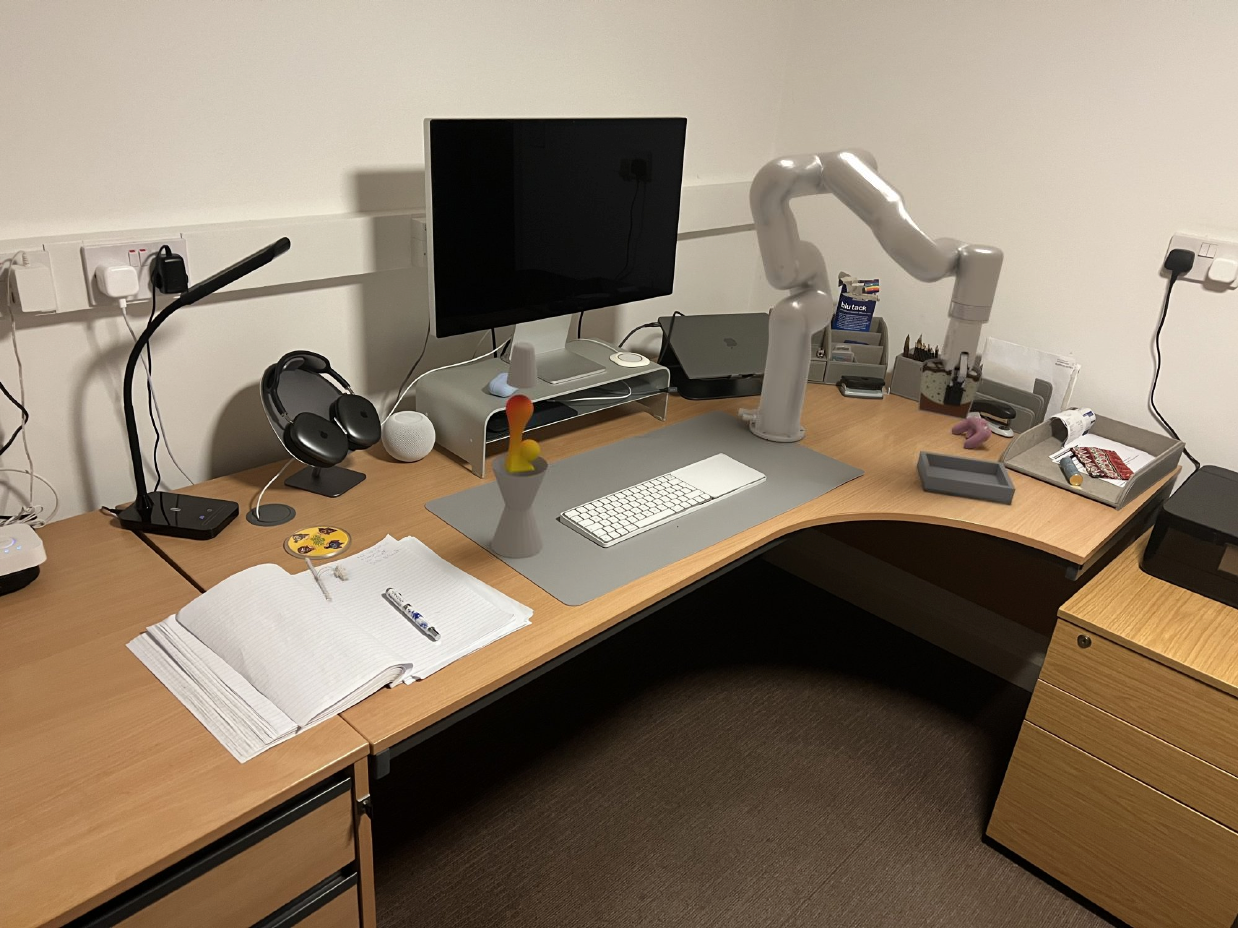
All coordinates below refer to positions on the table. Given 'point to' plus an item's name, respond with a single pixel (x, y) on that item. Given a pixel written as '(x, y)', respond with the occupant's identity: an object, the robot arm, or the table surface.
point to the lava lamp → (519, 465)
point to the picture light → (339, 570)
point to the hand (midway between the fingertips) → (949, 398)
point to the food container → (935, 387)
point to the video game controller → (973, 431)
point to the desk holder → (965, 477)
